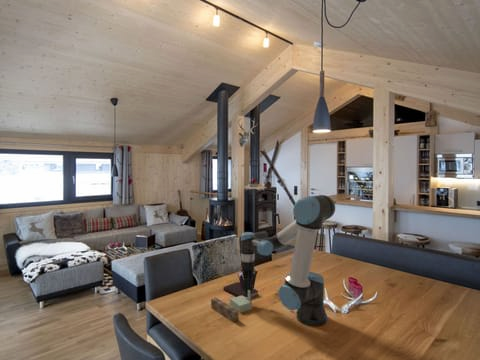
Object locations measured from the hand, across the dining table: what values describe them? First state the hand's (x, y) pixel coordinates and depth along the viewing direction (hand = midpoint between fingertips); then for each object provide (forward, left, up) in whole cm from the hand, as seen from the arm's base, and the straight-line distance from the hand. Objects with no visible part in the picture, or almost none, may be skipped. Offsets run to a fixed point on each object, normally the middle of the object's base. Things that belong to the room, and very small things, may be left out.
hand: (247, 301), depth 165 cm
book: (+15, -7, -2) cm, 17 cm away
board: (0, +17, -2) cm, 17 cm away
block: (0, +5, -2) cm, 5 cm away
